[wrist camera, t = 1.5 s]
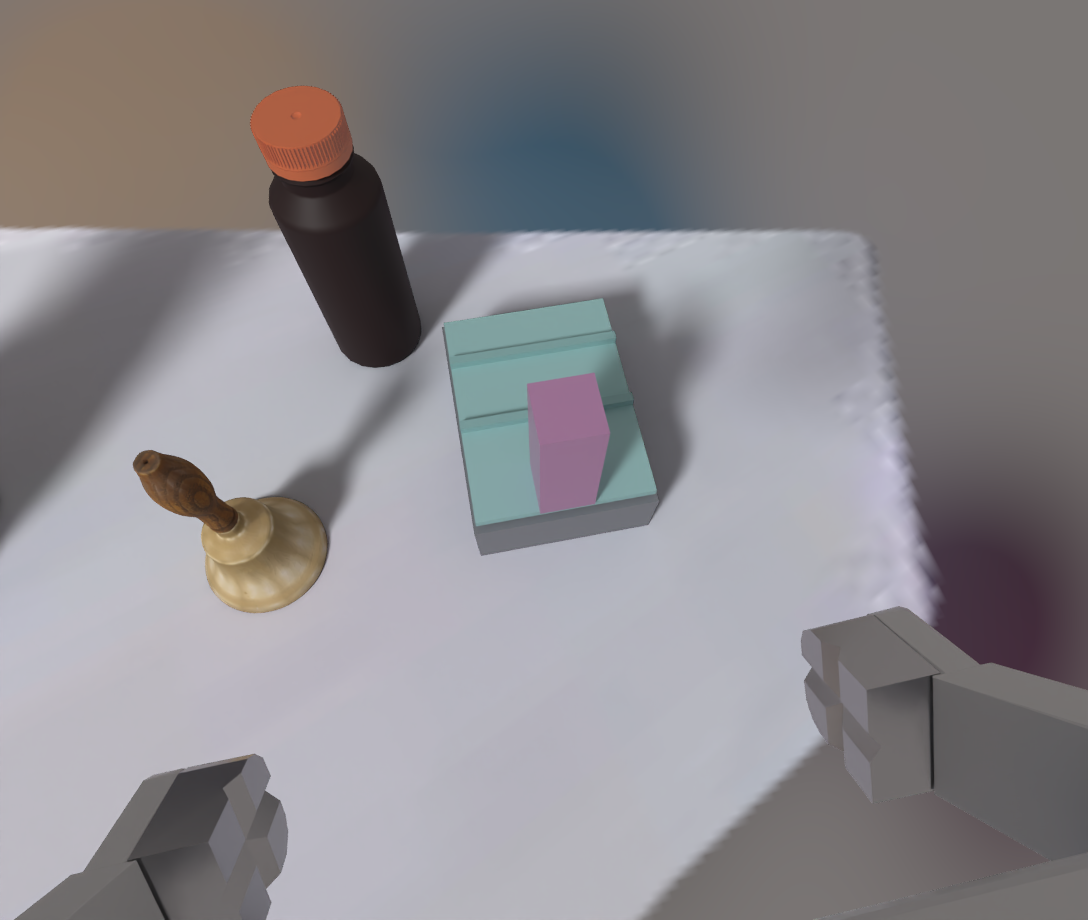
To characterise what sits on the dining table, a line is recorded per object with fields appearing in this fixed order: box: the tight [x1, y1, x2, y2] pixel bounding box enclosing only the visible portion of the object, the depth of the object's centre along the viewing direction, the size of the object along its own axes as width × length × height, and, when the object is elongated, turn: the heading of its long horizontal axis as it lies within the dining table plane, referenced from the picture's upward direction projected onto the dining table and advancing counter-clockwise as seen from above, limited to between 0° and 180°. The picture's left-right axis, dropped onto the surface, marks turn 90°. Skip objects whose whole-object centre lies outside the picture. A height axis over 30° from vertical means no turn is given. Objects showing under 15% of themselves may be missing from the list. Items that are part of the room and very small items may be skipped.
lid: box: [444, 298, 657, 526], centre depth 40 cm, size 15×12×11 cm
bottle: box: [250, 86, 421, 368], centre depth 44 cm, size 7×7×20 cm
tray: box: [442, 327, 659, 556], centre depth 47 cm, size 16×12×5 cm
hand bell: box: [133, 450, 327, 613], centre depth 39 cm, size 8×8×16 cm
